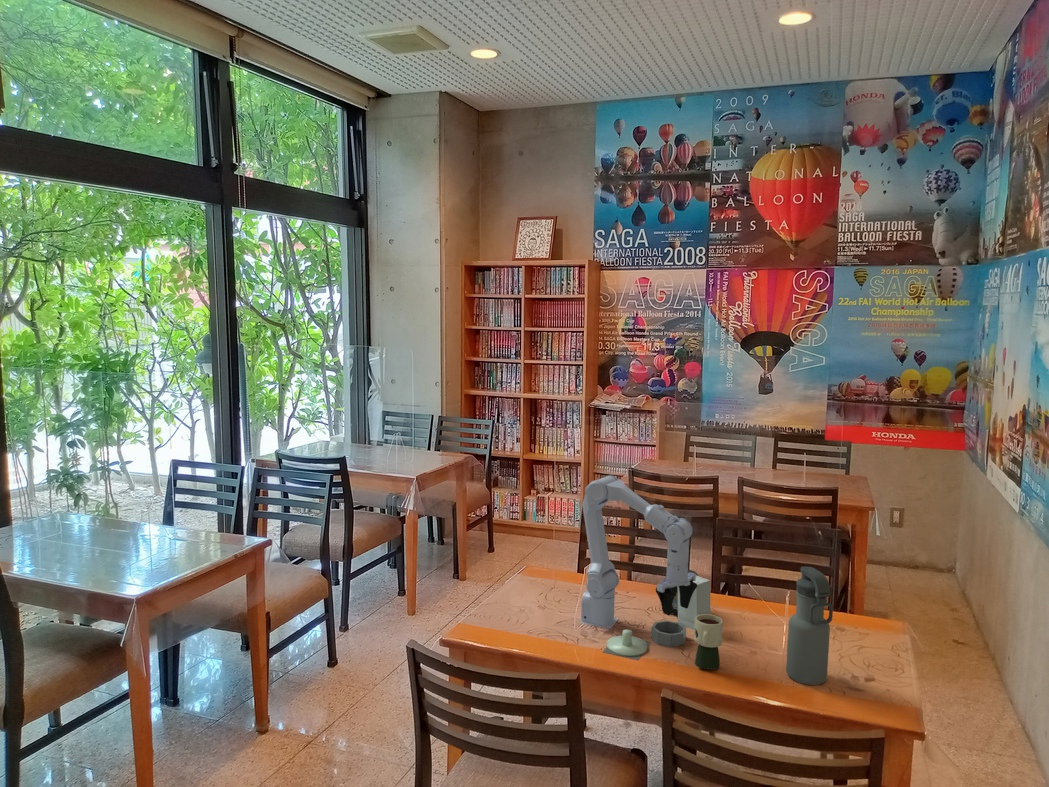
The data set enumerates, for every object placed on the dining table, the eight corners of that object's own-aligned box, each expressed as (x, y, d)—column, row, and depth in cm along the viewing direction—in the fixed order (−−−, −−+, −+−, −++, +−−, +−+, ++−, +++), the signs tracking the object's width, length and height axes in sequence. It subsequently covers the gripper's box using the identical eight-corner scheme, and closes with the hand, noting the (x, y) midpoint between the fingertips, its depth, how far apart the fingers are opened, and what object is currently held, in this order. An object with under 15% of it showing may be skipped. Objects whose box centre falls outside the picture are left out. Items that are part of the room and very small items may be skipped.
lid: (601, 651, 198) (601, 635, 197) (614, 635, 208) (614, 620, 207) (640, 659, 193) (640, 643, 193) (651, 643, 203) (652, 627, 203)
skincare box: (710, 629, 214) (712, 580, 212) (696, 634, 210) (698, 584, 209) (689, 619, 221) (691, 571, 219) (675, 623, 217) (677, 575, 216)
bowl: (648, 644, 204) (648, 630, 203) (657, 631, 212) (657, 618, 211) (680, 651, 200) (680, 637, 199) (687, 638, 208) (688, 624, 207)
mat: (602, 654, 197) (602, 652, 197) (616, 636, 208) (616, 634, 208) (637, 662, 193) (637, 660, 193) (650, 643, 204) (650, 641, 204)
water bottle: (836, 685, 182) (842, 577, 179) (801, 689, 180) (807, 580, 177) (811, 665, 192) (817, 563, 189) (778, 669, 190) (783, 565, 187)
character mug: (697, 655, 197) (699, 609, 196) (724, 660, 195) (726, 613, 193) (689, 673, 188) (691, 624, 186) (717, 679, 185) (719, 630, 183)
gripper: (672, 573, 194) (670, 622, 195) (705, 562, 203) (703, 608, 204) (651, 566, 199) (650, 613, 201) (685, 555, 208) (683, 600, 210)
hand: (675, 610), depth 203 cm, fingers open, 7 cm apart
